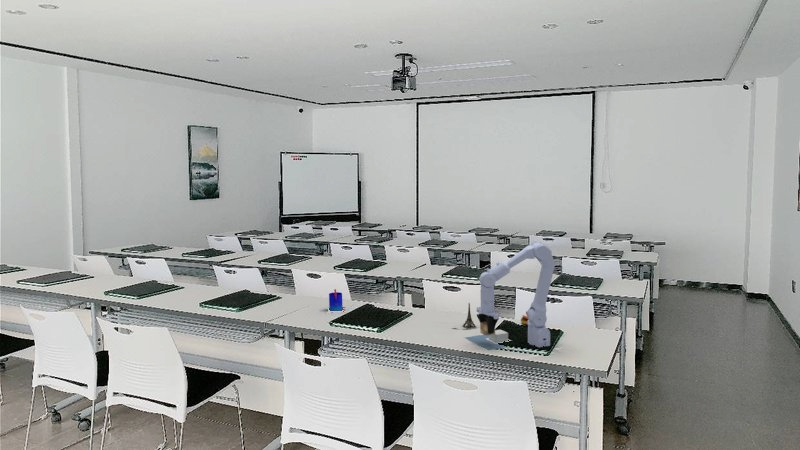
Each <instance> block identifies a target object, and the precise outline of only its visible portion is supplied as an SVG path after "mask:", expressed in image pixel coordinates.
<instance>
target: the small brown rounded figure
mask: <svg viewBox="0 0 800 450" xmlns="http://www.w3.org/2000/svg"><path fill="white" fill-rule="evenodd" d="M525 314H526V315H525ZM525 314H524V315H522V316H521V318H520V322H521V323H522V325H527V326H528V322H529V319H528V317H527V311H526V312H525Z"/></svg>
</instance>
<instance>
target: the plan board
mask: <svg viewBox="0 0 800 450" xmlns="http://www.w3.org/2000/svg"><path fill="white" fill-rule="evenodd" d="M464 339H466V340H467V341H469V342H472V343H473V344H476V345H477V346H479V347H481V348H483V349H485V350H488V351H492V350H497V349H499V350H500V349H505V348H507V347H506V346H503V345H499V344H498V343H503V342H498V343H496V342H494V341H492V340H490V339H489V335H484V334H478V335H473V336H471V335H470V336H466V337H464ZM508 340H509V341H512V340H511V339H509V338H508ZM509 341H505V342H509Z"/></svg>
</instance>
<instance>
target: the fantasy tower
mask: <svg viewBox="0 0 800 450" xmlns="http://www.w3.org/2000/svg"><path fill="white" fill-rule="evenodd" d="M328 302H329V303H328V306H329V307H328V308H329V310H330V311H342V310H344V311H346V309H343V308H346V307H345V306H343V293H342V292H338V291H337V289H336V288H334V292H330V293H328ZM344 311H343V312H344Z"/></svg>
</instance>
